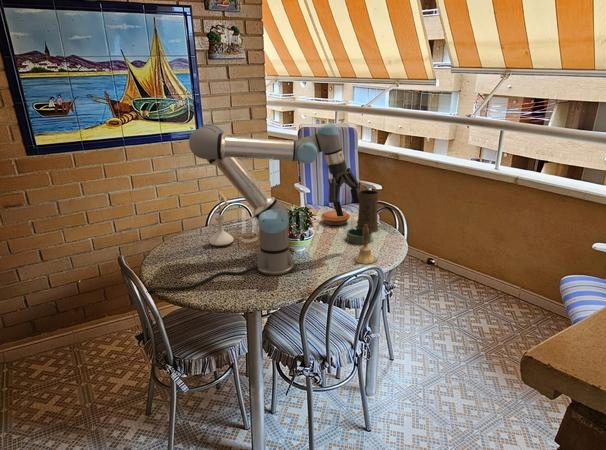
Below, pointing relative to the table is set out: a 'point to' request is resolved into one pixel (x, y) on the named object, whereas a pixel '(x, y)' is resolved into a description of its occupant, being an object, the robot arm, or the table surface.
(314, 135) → the robot arm
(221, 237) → the flower in vase
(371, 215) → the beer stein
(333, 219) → the pie
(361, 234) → the holder
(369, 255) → the hand bell
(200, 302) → the table surface
